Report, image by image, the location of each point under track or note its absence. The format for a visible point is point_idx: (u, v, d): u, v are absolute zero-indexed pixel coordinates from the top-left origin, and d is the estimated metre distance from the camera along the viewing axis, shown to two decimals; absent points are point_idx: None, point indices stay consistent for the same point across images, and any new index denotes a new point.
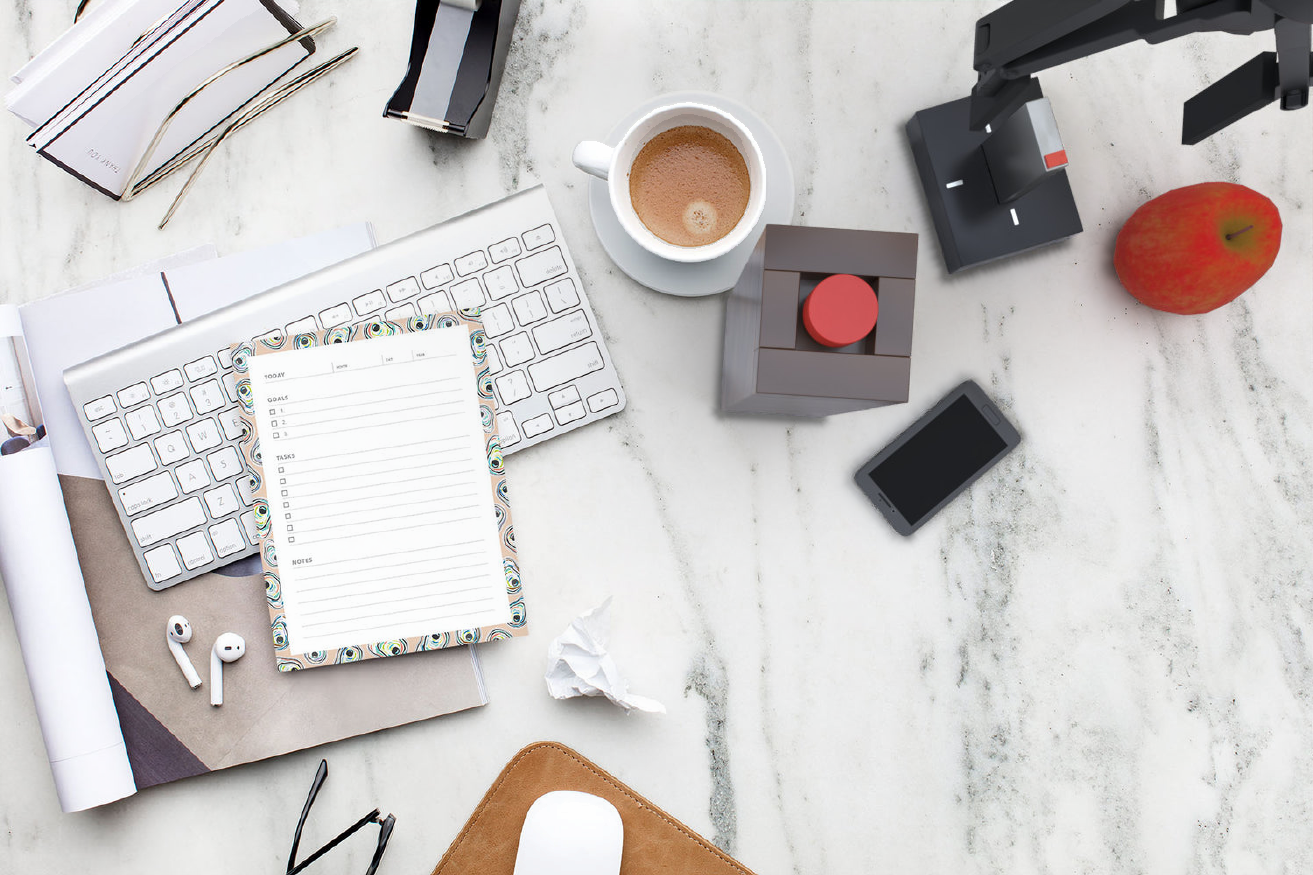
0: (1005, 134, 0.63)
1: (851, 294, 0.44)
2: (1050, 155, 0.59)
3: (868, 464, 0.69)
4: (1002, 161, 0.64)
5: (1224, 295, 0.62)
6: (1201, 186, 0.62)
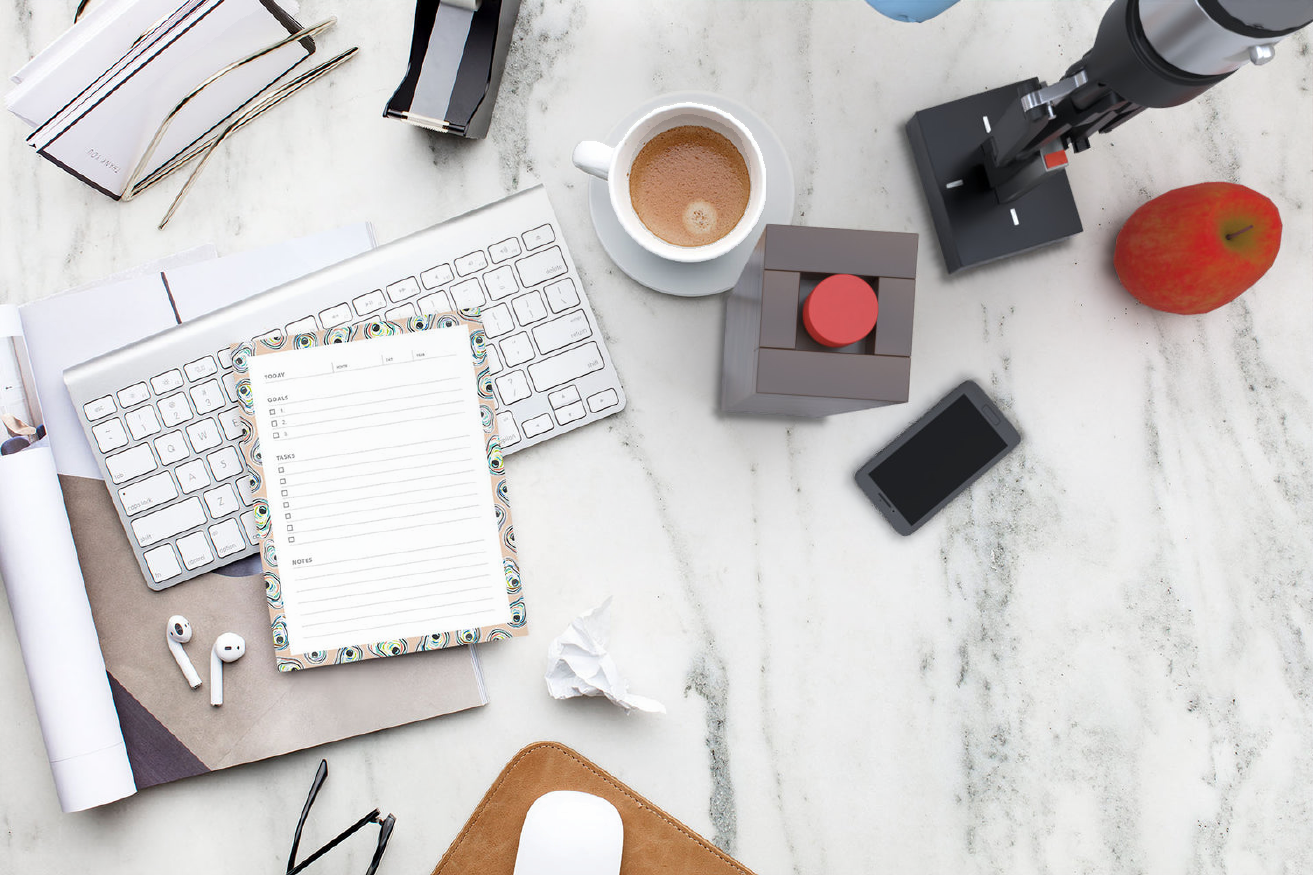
0: None
1: (851, 294, 0.44)
2: (1050, 155, 0.59)
3: (868, 464, 0.69)
4: None
5: (1224, 295, 0.62)
6: (1201, 186, 0.62)
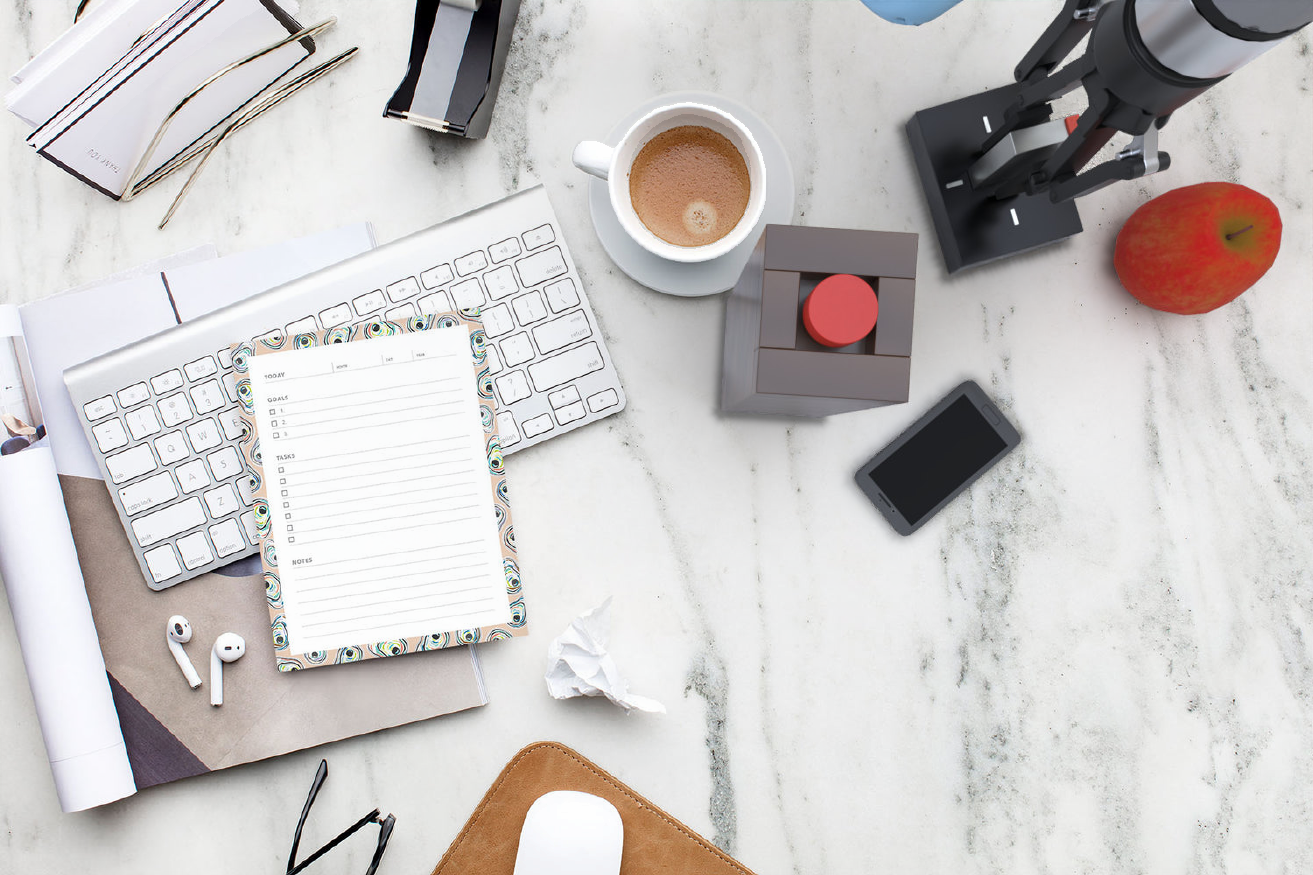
0: (1003, 170, 0.63)
1: (851, 294, 0.44)
2: None
3: (868, 464, 0.69)
4: (1014, 171, 0.64)
5: (1224, 295, 0.62)
6: (1201, 186, 0.62)
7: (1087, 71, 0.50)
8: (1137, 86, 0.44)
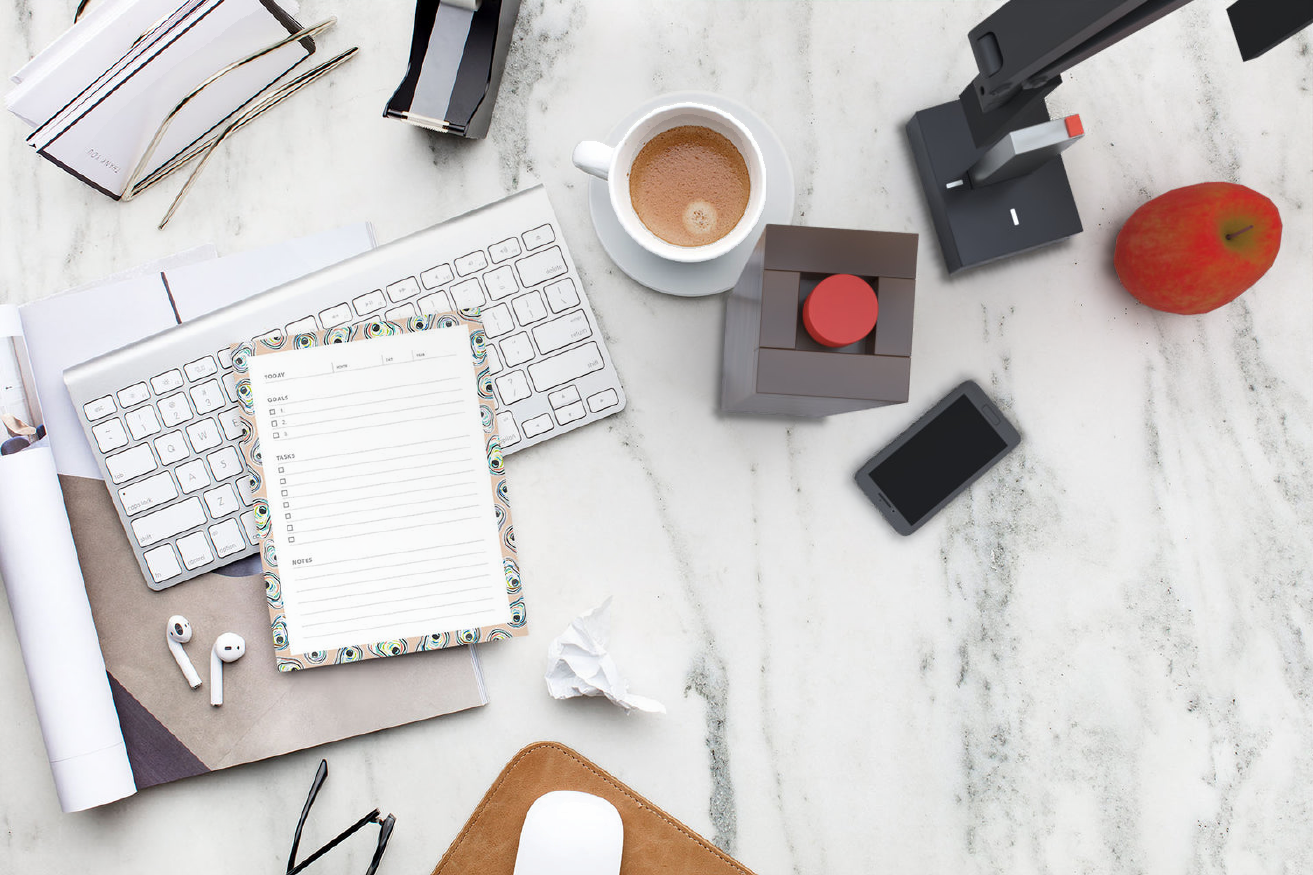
0: (1003, 170, 0.63)
1: (851, 294, 0.44)
2: (1072, 132, 0.59)
3: (868, 464, 0.69)
4: (1014, 171, 0.64)
5: (1224, 295, 0.62)
6: (1201, 186, 0.62)
7: None
8: None
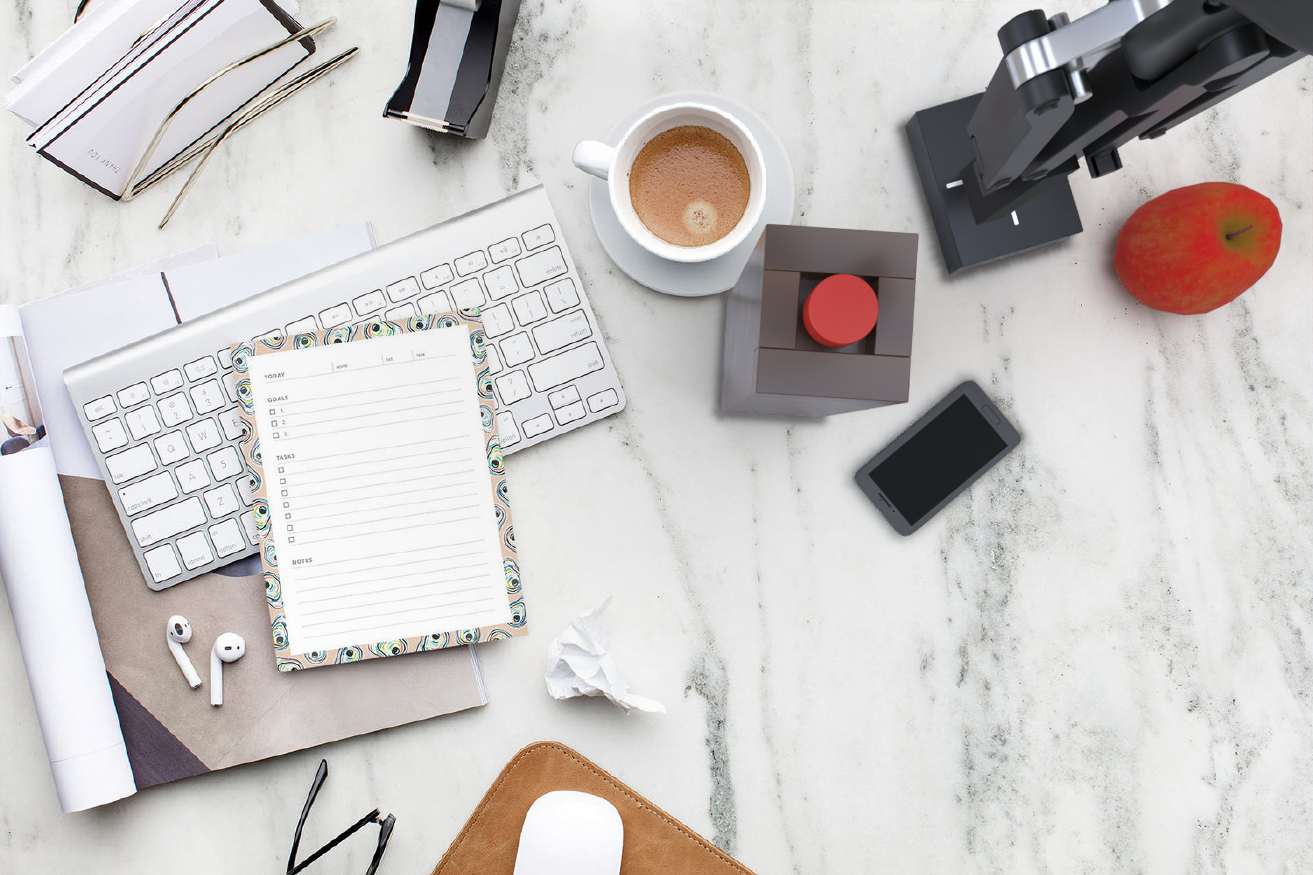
0: None
1: (851, 294, 0.44)
2: None
3: (868, 464, 0.69)
4: None
5: (1224, 295, 0.62)
6: (1201, 186, 0.62)
7: None
8: None
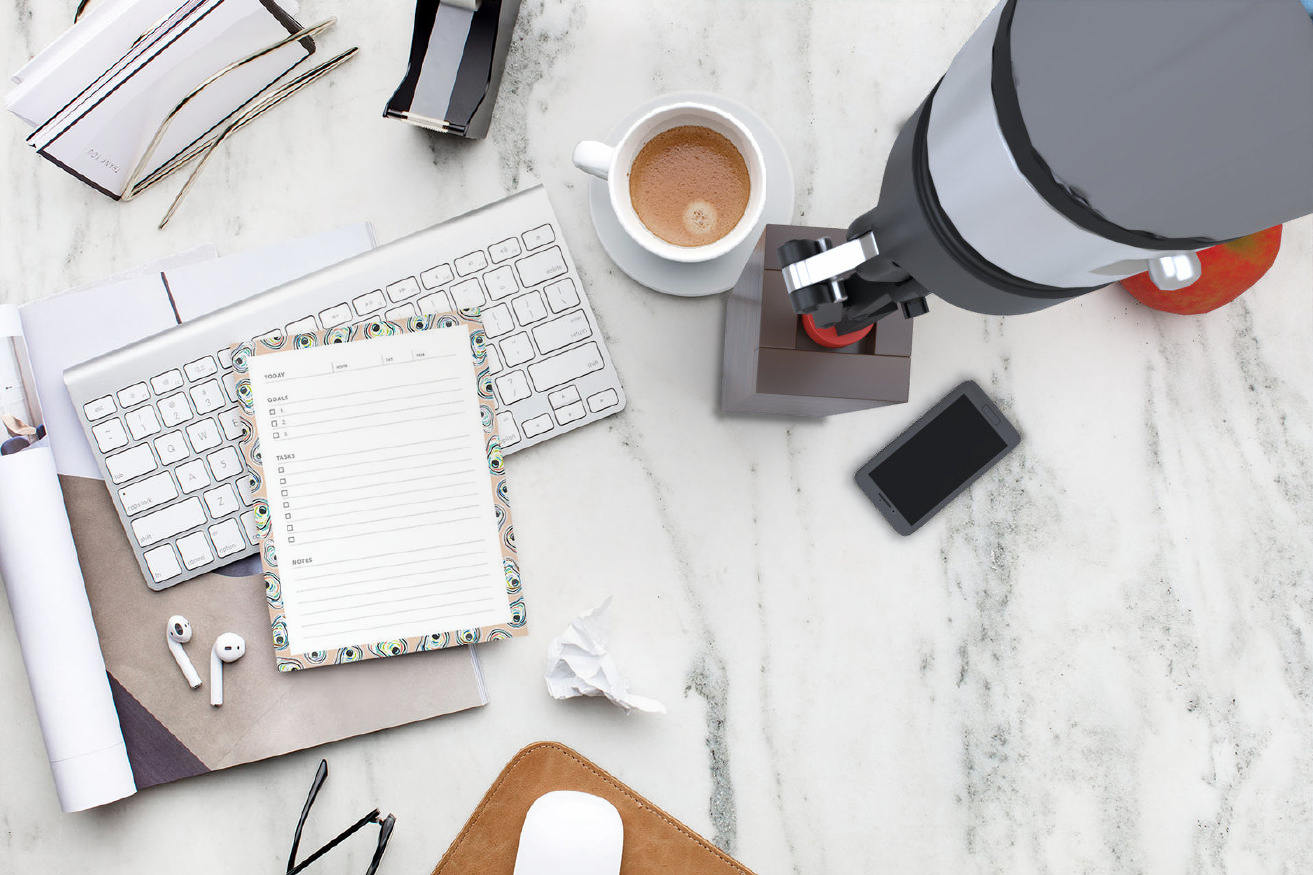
0: None
1: None
2: None
3: (868, 464, 0.69)
4: None
5: (1224, 295, 0.62)
6: None
7: None
8: (920, 106, 0.23)
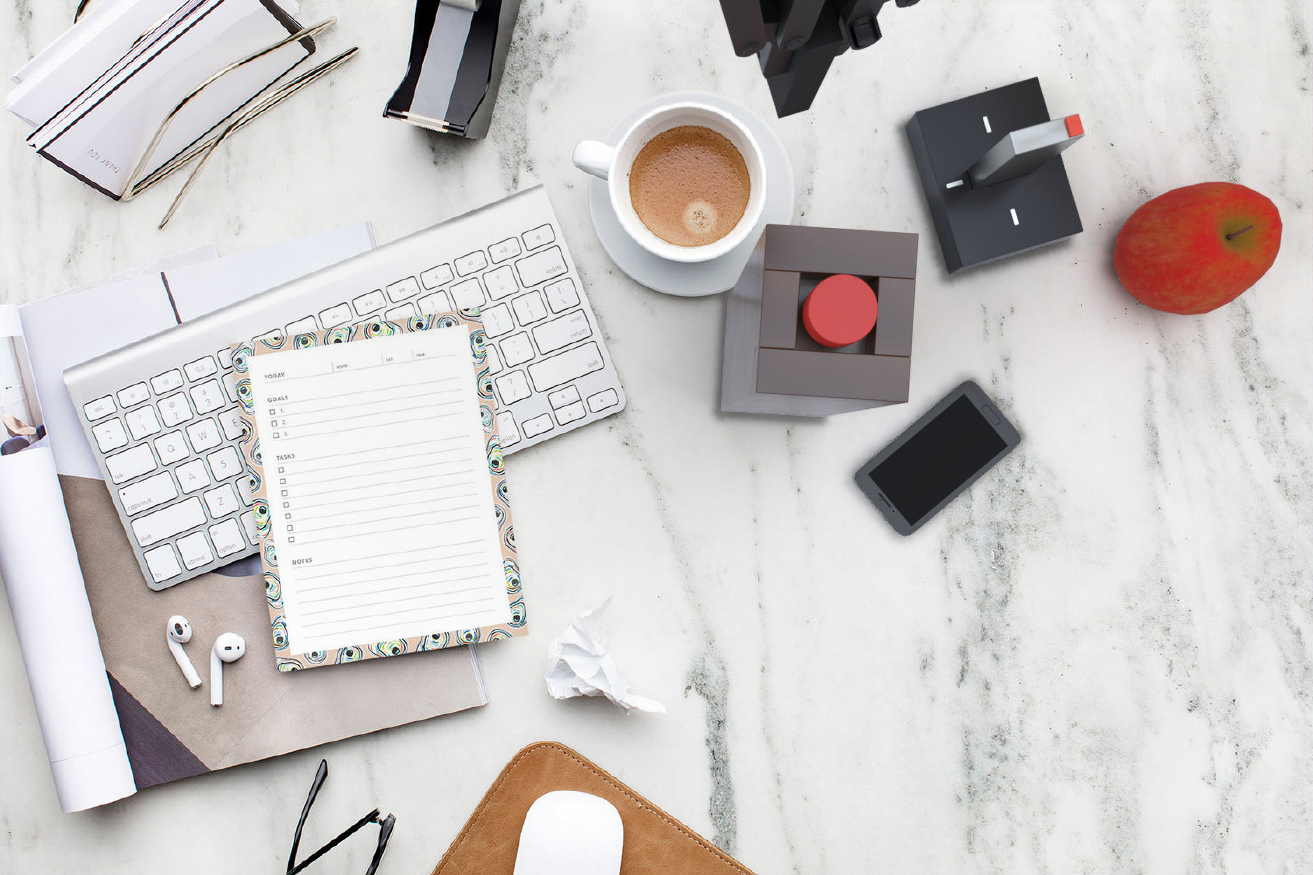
0: (1003, 170, 0.63)
1: (851, 294, 0.44)
2: (1072, 132, 0.59)
3: (868, 464, 0.69)
4: (1014, 171, 0.64)
5: (1224, 295, 0.62)
6: (1201, 186, 0.62)
7: None
8: None
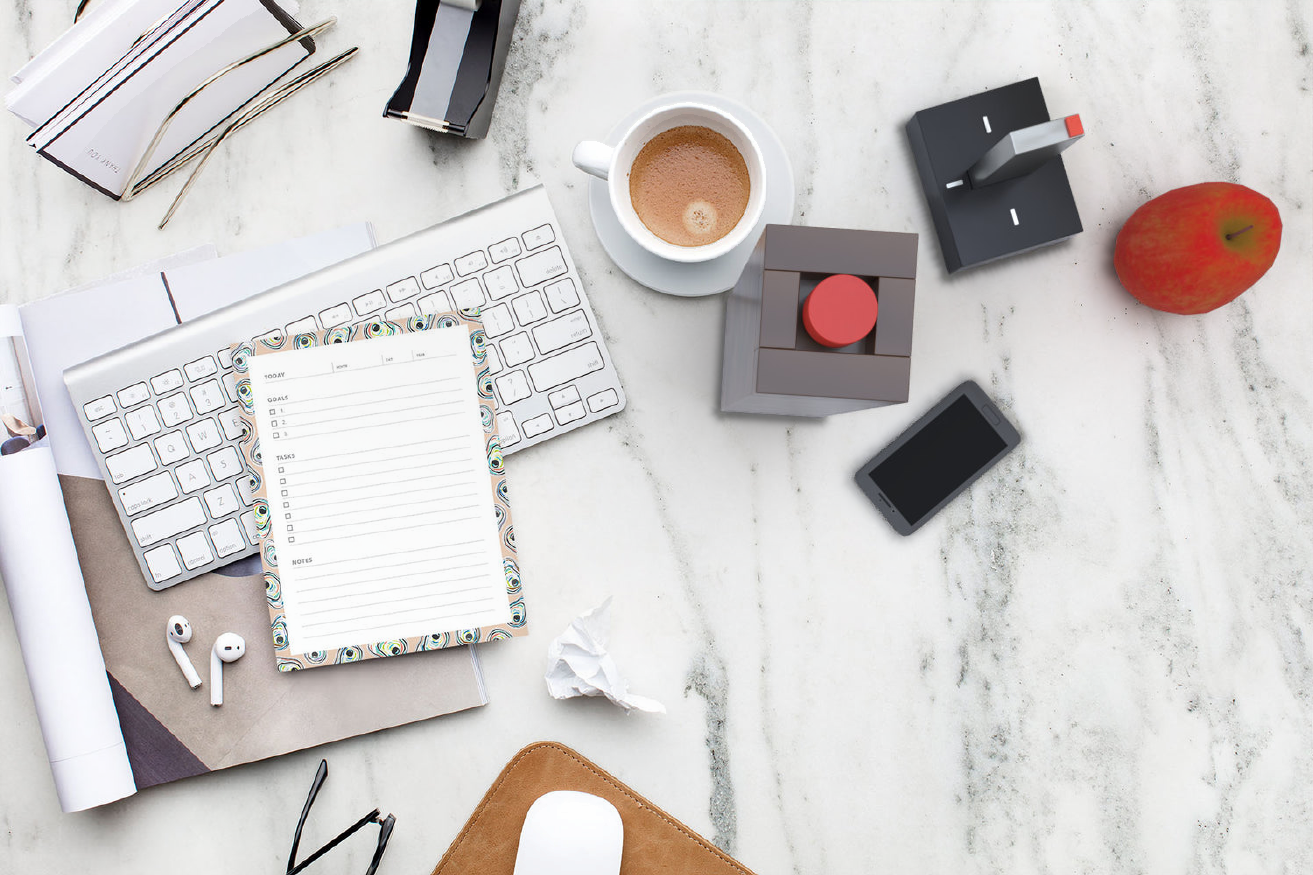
0: (1003, 170, 0.63)
1: (851, 294, 0.44)
2: (1072, 132, 0.59)
3: (868, 464, 0.69)
4: (1014, 171, 0.64)
5: (1224, 295, 0.62)
6: (1201, 186, 0.62)
7: None
8: None
